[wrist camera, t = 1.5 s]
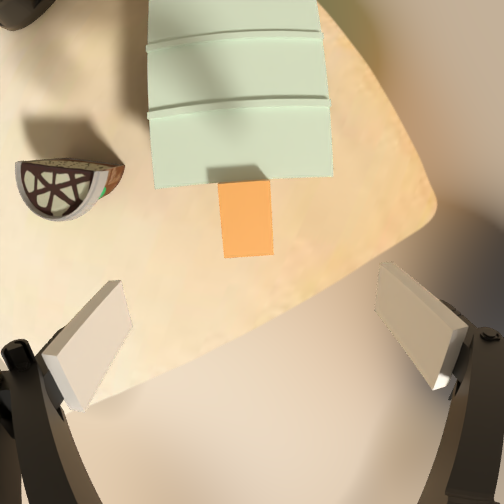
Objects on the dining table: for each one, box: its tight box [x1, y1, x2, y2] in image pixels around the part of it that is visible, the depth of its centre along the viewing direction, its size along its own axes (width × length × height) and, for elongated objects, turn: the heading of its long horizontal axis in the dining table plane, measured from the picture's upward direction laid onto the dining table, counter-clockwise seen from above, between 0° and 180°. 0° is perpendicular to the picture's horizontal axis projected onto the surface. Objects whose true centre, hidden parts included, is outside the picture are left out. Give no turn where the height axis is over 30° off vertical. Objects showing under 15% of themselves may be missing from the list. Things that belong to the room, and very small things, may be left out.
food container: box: [15, 158, 125, 221], centre depth 29 cm, size 12×6×10 cm, turn 77°
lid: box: [146, 0, 333, 258], centre depth 22 cm, size 25×15×3 cm, turn 4°
